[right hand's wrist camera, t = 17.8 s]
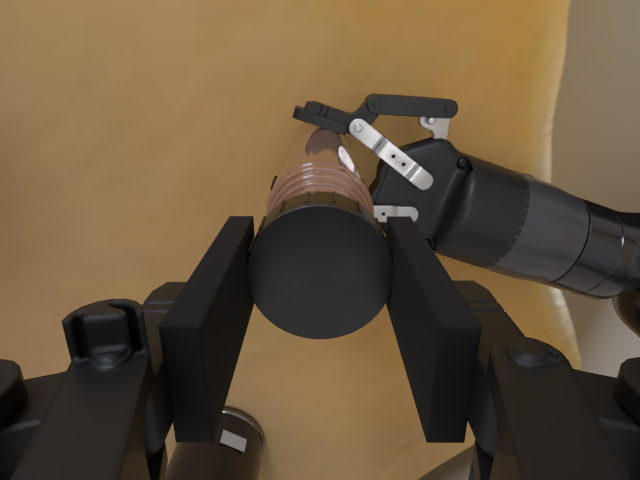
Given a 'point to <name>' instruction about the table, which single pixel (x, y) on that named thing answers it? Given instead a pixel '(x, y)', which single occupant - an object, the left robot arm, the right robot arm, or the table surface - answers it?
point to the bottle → (319, 168)
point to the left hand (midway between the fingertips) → (284, 148)
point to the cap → (320, 266)
